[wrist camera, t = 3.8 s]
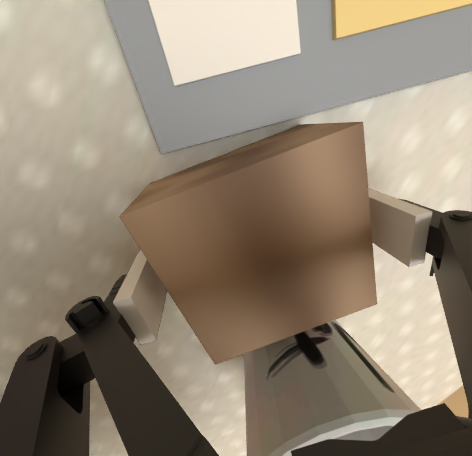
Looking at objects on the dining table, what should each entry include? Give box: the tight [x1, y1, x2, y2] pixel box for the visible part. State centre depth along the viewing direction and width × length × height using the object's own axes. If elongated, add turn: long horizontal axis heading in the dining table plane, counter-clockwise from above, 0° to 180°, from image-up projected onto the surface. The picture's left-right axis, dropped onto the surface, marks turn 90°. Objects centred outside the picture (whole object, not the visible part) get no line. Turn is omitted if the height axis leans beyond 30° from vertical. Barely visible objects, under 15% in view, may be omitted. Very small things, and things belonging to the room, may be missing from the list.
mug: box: [244, 320, 421, 456], centre depth 17 cm, size 10×15×10 cm
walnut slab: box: [119, 122, 377, 364], centre depth 13 cm, size 10×10×6 cm
